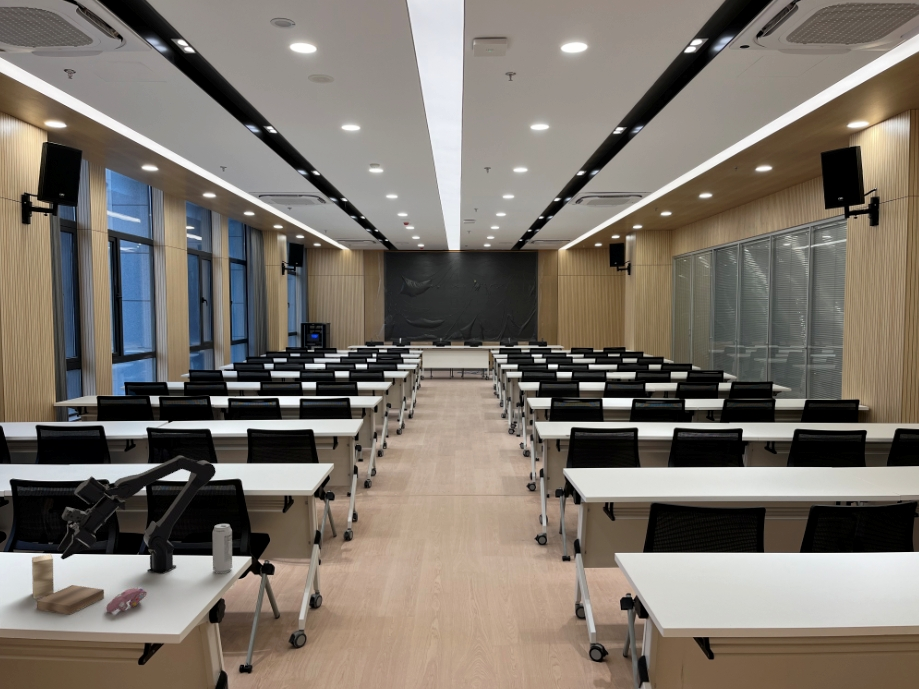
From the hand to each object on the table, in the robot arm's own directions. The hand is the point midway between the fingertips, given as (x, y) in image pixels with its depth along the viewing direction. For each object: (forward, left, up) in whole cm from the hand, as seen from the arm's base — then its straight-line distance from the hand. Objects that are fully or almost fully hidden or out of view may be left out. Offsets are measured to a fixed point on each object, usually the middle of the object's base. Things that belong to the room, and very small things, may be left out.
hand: (60, 554), depth 204 cm
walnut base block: (-11, +7, -11) cm, 17 cm away
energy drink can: (-37, -28, -11) cm, 48 cm away
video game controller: (-30, +5, -11) cm, 32 cm away
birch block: (+3, +4, -11) cm, 12 cm away
